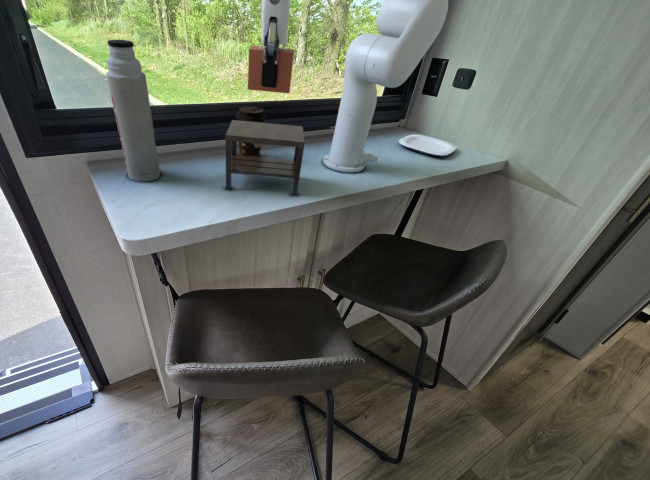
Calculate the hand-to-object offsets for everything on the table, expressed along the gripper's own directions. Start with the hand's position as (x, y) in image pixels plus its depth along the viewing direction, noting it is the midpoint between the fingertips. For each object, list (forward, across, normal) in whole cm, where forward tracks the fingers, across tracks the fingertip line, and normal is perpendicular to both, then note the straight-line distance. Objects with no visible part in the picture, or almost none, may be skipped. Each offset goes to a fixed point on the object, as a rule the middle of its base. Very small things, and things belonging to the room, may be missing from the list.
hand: (269, 82), depth 71 cm
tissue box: (+1, 0, 0) cm, 1 cm away
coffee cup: (+23, +18, +5) cm, 30 cm away
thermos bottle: (+23, -2, +31) cm, 39 cm away
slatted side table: (+23, 0, 0) cm, 23 cm away
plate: (+23, +41, -57) cm, 74 cm away
